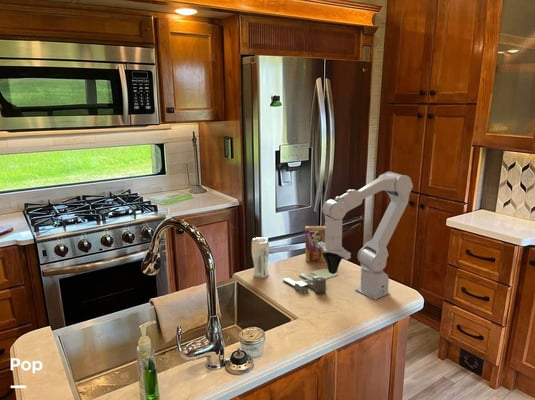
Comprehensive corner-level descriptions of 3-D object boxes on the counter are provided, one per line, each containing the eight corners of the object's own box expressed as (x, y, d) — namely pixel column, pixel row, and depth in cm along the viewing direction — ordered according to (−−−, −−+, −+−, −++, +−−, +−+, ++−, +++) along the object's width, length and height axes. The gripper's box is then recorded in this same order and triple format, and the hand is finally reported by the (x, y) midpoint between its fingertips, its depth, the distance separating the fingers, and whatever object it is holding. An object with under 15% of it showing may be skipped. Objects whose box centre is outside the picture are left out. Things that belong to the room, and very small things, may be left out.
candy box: (325, 258, 179) (325, 225, 175) (325, 262, 174) (326, 228, 171) (305, 258, 179) (305, 225, 176) (305, 261, 175) (305, 228, 172)
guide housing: (325, 284, 153) (325, 278, 152) (301, 292, 146) (301, 286, 146) (305, 274, 162) (305, 268, 162) (282, 281, 156) (282, 275, 156)
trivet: (337, 275, 161) (337, 274, 161) (324, 279, 157) (324, 278, 157) (324, 268, 167) (324, 268, 167) (311, 273, 163) (311, 272, 163)
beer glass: (249, 275, 163) (247, 240, 159) (262, 270, 167) (261, 236, 164) (259, 280, 158) (258, 244, 154) (273, 275, 162) (272, 240, 159)
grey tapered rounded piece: (327, 292, 146) (328, 279, 145) (319, 295, 144) (319, 282, 143) (310, 283, 154) (310, 271, 153) (302, 286, 152) (302, 273, 151)
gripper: (310, 232, 140) (310, 268, 143) (339, 243, 128) (339, 282, 131) (325, 228, 144) (325, 264, 147) (355, 238, 132) (354, 277, 135)
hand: (332, 272), depth 139 cm, fingers closed
